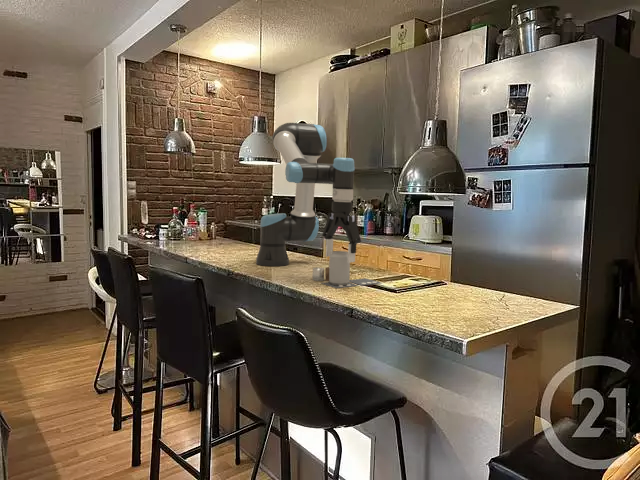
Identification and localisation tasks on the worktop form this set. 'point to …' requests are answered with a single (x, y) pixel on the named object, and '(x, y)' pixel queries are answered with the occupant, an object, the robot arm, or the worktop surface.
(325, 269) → the walnut block
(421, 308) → the worktop surface
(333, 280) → the can
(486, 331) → the worktop surface
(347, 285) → the pad two
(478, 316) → the worktop surface
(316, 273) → the tin
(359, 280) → the pad three
